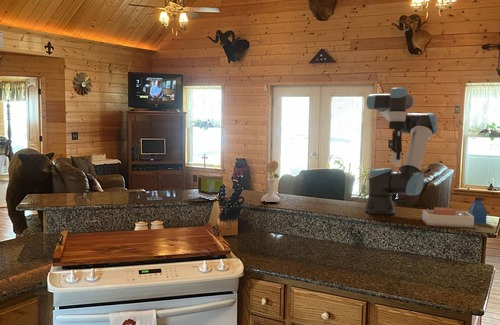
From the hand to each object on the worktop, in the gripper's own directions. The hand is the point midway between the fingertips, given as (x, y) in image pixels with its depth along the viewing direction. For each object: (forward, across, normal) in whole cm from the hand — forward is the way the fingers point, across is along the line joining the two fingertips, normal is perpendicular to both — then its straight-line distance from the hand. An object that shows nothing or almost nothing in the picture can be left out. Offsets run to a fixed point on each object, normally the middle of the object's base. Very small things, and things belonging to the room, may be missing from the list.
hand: (395, 165), depth 225 cm
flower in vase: (+27, +38, +65) cm, 80 cm away
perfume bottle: (+27, +6, -39) cm, 48 cm away
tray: (+27, 0, -24) cm, 36 cm away
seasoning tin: (+23, -1, -18) cm, 29 cm away
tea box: (+27, +44, +104) cm, 116 cm away
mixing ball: (+24, 0, -30) cm, 38 cm away
